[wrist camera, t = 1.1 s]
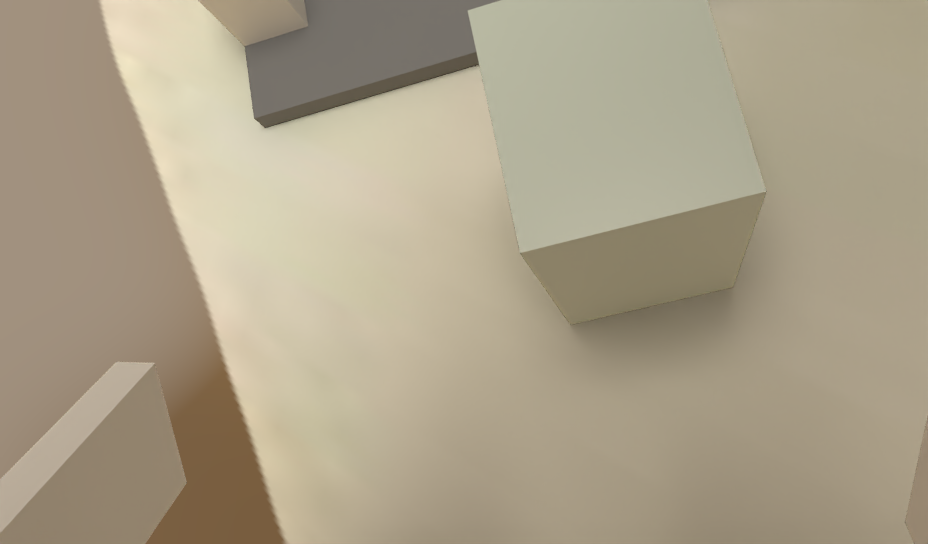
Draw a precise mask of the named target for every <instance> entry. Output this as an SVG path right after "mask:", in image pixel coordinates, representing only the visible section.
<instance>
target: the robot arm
mask: <svg viewBox="0 0 928 544" xmlns="http://www.w3.org/2000/svg"><path fill="white" fill-rule="evenodd" d="M186 483H187V482H186V478H185V475H184V470H183V467H182V463H181V459H180V456H179V452H178V448H177V444H176V441H175V437H174V433H173V429H172V425H171V422H170V418H169V414H168V410H167V407H166V403H165V399H164V395H163V392H162V388H161V384H160V380H159V377H158V373H157V369H156V365H155V363H135V362H116V363H115V364H114V365H113V366H112V367H111V368H110V369H109V370H108V371H107V372H106V373H105V374H104V375H103V376H102V377H101V378H100V379H99V380H98V381H97V382H96V383H95V384H94V385H93V386H92V387H91V388H90V389H89V390H88V391H87V392H86V393H85V394H84V395H83V396H82V397H81V398H80V399H79V400H78V401H77V402H76V403H75V404H74V405H73V406H72V407H71V408H70V409H69V411H68V412H66V414H65V415H63V417H62V418H60V419H59V420H58V421H57V422H56V423H55V424H54V426H53V427H52V428H51V429H50V430H49V431H48V432H47V433H46V434H45V435H44V436H43V437H42V438H41V439H40V440H39V441H38V442H37V443H36V444H35V445H34V446H33V447H32V448H31V449H30V450H29V451H28V452H27V453H26V454H25V455H24V456H23V457H22V458H21V459H20V460H19V461H18V462H17V463H16V464H15V465H14V466H13V467H12V468H11V469H10V470H9V471H8V472H7V473H6V474H5V475H4V476H3V477H2V478H1V479H0V544H145V543H146V542H147V540H148V539H149V537H150V536H151V534H152V533H153V531H154V530H155V528H156V527H157V525H158V524H159V523H160V521H161V519H162V518H163V516H164V515H165V514H166V512H167V511H168V509H169V508H170V506H171V505H172V503H173V502H174V500H175V499H176V497H177V496H178V495H179V493H180V492H181V490H182V489H183V487H184V486H185V484H186ZM905 524H906V526H907V528H908V530H909V533H910V535H911V537H912V539H913V541H914V544H928V417H927V421H926V426H925V431H924V435H923V440H922V445H921V449H920V454H919V459H918V463H917V468H916V473H915V477H914V482H913V487H912V492H911V496H910V501H909V506H908V510H907V515H906V520H905Z"/></svg>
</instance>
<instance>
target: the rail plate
mask: <svg viewBox="0 0 928 544" xmlns="http://www.w3.org/2000/svg"><path fill="white" fill-rule="evenodd" d="M198 1H199V2H200V3H201V4H202V5H203V6H204V7H205V8H206V9H207V10H209V11H210V12H211V13H212V14H213V15H214V16H215V17H216V18H217V19H218V20H219V21H220V22H221V23H222V24H223V25H224V26H225V27H226V28H227V29H228V30H229V31H230V32H231V33H232V34H233V35H234V36H235V37H236V38H237V39H238V40H239V41H240V42H241V43H242V44H243V45H244V46H245V52H246V60H247V67H248V75H249V83H250V90H251V98H252V106H253V113H254V119H255V120H257V121H258V122H259V123H260V124H261V125H263V126H264V127H269V126H272V125H275V124H279V123H282V122H286V121H289V120H292V119H296V118H299V117H302V116H306V115H309V114H313V113H316V112H319V111H323V110H326V109H329V108H333V107H336V106H340V105H343V104H346V103H350V102H353V101H356V100H360V99H363V98H367V97H370V96H373V95H377V94H380V93H383V92H387V91H390V90H394V89H397V88H400V87H404V86H407V85H410V84H414V83H417V82H420V81H424V80H427V79H431V78H434V77H437V76H441V75H444V74H447V73H451V72H454V71H458V70H461V69H464V68H468V67H471V66H474V65H478V64H479V61H478V56H477V52H476V47H475V43H474V38H473V33H472V29H471V24H470V19H469V15H468V10H471V9H474V8H477V7H481V6H484V5H487V4H490V3H494V2H497V1H500V0H198Z"/></svg>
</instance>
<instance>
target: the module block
mask: <svg viewBox="0 0 928 544" xmlns="http://www.w3.org/2000/svg"><path fill="white" fill-rule="evenodd" d="M468 15H469V19H470V24H471V29H472V33H473V38H474V43H475V47H476V52H477V56H478V61H479V66H480V70H481V75H482V80H483V84H484V89H485V94H486V98H487V103H488V107H489V112H490V117H491V121H492V126H493V131H494V135H495V140H496V144H497V149H498V154H499V158H500V163H501V168H502V172H503V177H504V181H505V186H506V191H507V195H508V200H509V205H510V209H511V214H512V218H513V223H514V228H515V232H516V237H517V242H518V246H519V251H520V254H521V255H522V257H523V258H524V260H525V261H526V262H527V264H528V265H529V267H530V268H531V270H532V271H533V272H534V274H535V275H536V277H537V278H538V279H539V281H540V282H541V284H542V285H543V287H544V288H545V289H546V291H547V292H548V294H549V295H550V297H551V298H552V299H553V301H554V302H555V304H556V305H557V307H558V308H559V309H560V311H561V312H562V314H563V315H564V316H565V318H566V319H567V321H568V322H569V324H570V325H573V324H577V323H581V322H586V321H590V320H594V319H598V318H603V317H607V316H611V315H616V314H620V313H624V312H629V311H633V310H637V309H642V308H646V307H650V306H655V305H659V304H663V303H668V302H672V301H676V300H680V299H685V298H689V297H693V296H698V295H702V294H706V293H711V292H715V291H719V290H724V289H728V288H732V287H733V286H734V283H735V280H736V277H737V275H738V272H739V269H740V266H741V263H742V260H743V257H744V255H745V252H746V249H747V246H748V243H749V240H750V237H751V234H752V232H753V229H754V226H755V223H756V220H757V217H758V214H759V212H760V209H761V206H762V203H763V200H764V197H765V194H766V192H767V191H766V188H765V185H764V181H763V178H762V175H761V172H760V168H759V165H758V162H757V159H756V155H755V152H754V149H753V146H752V142H751V139H750V136H749V133H748V129H747V126H746V123H745V120H744V116H743V113H742V110H741V107H740V103H739V100H738V97H737V94H736V90H735V87H734V84H733V81H732V77H731V74H730V71H729V68H728V64H727V61H726V58H725V55H724V51H723V48H722V45H721V42H720V38H719V35H718V32H717V29H716V25H715V22H714V19H713V16H712V12H711V9H710V6H709V3H708V0H500V1H497V2H494V3H490V4H487V5H484V6H481V7H477V8H474V9H471V10H468Z"/></svg>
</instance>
